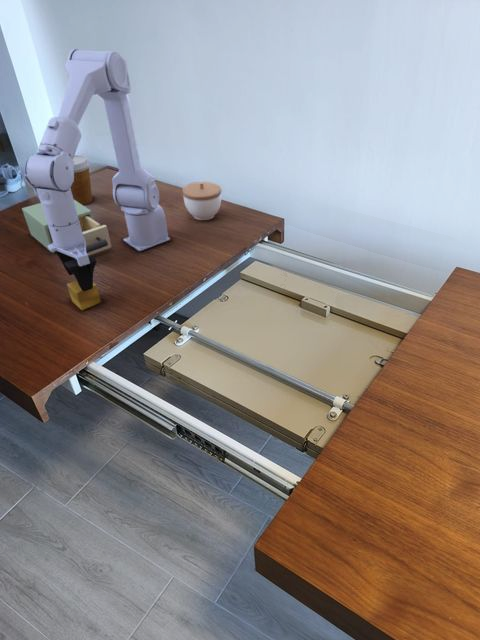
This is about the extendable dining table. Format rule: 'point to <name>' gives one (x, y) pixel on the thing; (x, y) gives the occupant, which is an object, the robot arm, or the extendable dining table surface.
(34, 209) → the cabinet
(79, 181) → the disposable coffee cup
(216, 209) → the trinket box
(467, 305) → the extendable dining table surface
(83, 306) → the block
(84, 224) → the drawer
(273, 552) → the extendable dining table surface
